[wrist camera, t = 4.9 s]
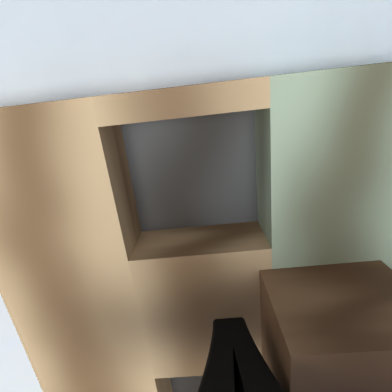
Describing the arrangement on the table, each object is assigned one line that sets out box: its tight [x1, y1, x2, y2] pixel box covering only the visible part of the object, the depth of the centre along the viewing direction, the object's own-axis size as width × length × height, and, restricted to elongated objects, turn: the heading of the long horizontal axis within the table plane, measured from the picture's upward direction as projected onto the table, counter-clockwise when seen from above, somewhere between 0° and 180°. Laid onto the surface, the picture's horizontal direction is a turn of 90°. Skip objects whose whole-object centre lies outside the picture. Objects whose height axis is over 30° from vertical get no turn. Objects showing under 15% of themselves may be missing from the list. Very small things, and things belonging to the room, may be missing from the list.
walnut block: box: [259, 260, 392, 392], centre depth 10 cm, size 5×5×4 cm
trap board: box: [0, 62, 392, 392], centre depth 13 cm, size 18×20×3 cm
